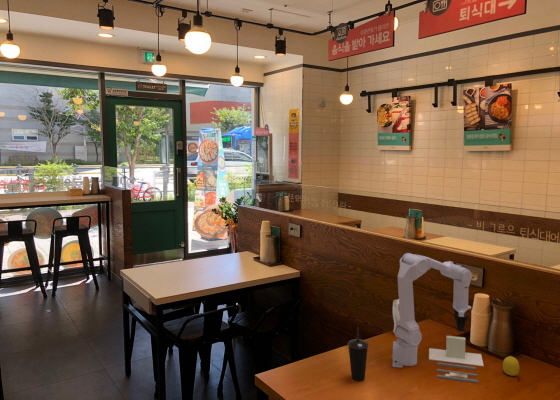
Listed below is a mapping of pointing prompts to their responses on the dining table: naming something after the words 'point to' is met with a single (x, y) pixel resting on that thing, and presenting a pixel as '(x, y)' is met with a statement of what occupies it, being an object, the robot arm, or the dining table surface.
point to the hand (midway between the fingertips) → (460, 327)
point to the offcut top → (458, 375)
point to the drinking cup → (358, 357)
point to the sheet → (455, 347)
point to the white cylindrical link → (396, 312)
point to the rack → (456, 372)
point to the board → (469, 358)
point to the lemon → (511, 366)
